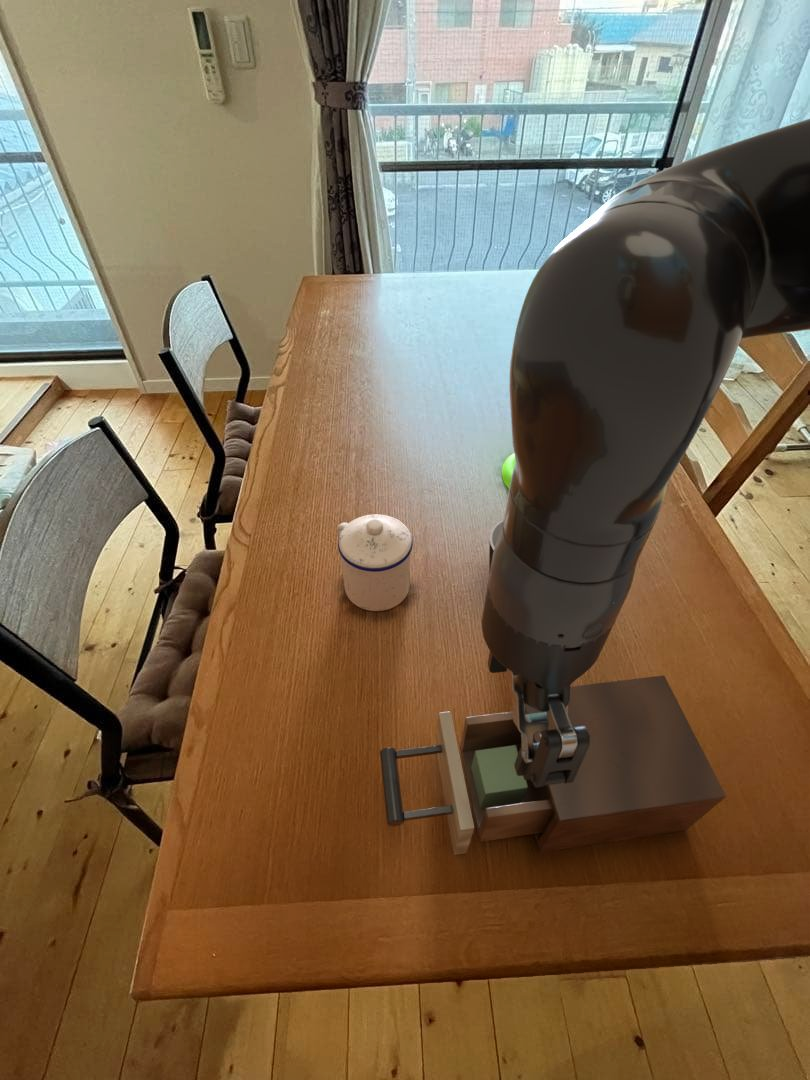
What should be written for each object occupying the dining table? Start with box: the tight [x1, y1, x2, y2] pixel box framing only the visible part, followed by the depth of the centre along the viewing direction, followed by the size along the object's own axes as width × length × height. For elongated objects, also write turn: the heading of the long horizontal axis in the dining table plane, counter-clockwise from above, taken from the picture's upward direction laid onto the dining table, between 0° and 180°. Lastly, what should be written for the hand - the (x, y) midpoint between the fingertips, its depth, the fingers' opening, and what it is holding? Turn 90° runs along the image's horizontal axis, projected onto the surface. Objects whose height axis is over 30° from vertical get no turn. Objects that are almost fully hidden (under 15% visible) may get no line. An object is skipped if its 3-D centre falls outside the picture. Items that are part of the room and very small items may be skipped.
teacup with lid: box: [336, 513, 414, 612], centre depth 70 cm, size 12×9×12 cm
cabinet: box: [525, 674, 727, 853], centre depth 53 cm, size 15×12×9 cm
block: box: [471, 745, 528, 809], centre depth 52 cm, size 4×4×4 cm
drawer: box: [379, 711, 555, 856], centre depth 52 cm, size 19×10×7 cm, turn 98°
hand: (514, 716), depth 44 cm, fingers open, 8 cm apart
